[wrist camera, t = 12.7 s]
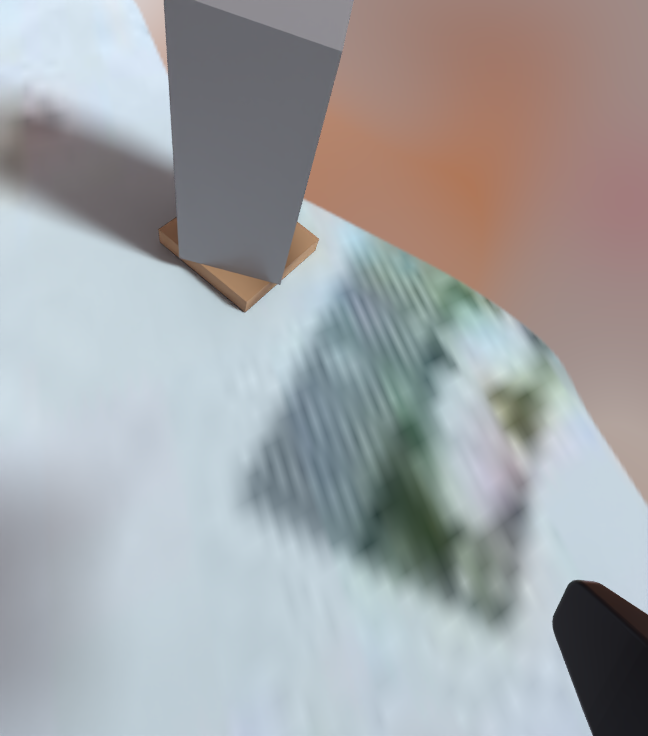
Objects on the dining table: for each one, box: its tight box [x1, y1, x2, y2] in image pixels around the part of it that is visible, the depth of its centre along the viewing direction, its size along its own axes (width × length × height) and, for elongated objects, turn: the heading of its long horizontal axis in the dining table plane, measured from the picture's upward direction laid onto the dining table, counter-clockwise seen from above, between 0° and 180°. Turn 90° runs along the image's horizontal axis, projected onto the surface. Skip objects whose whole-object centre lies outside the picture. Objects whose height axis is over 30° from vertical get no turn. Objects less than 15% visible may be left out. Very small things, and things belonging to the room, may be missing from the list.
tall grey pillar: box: [164, 0, 354, 285], centre depth 20 cm, size 5×5×12 cm
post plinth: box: [158, 217, 319, 312], centre depth 24 cm, size 6×6×6 cm
